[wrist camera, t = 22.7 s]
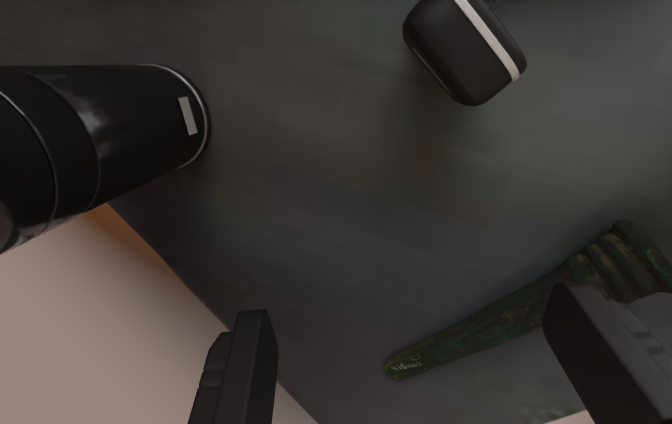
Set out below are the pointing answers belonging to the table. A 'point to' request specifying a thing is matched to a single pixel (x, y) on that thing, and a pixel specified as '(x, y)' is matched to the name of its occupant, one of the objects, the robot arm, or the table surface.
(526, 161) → the table surface
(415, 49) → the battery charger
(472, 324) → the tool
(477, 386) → the table surface
